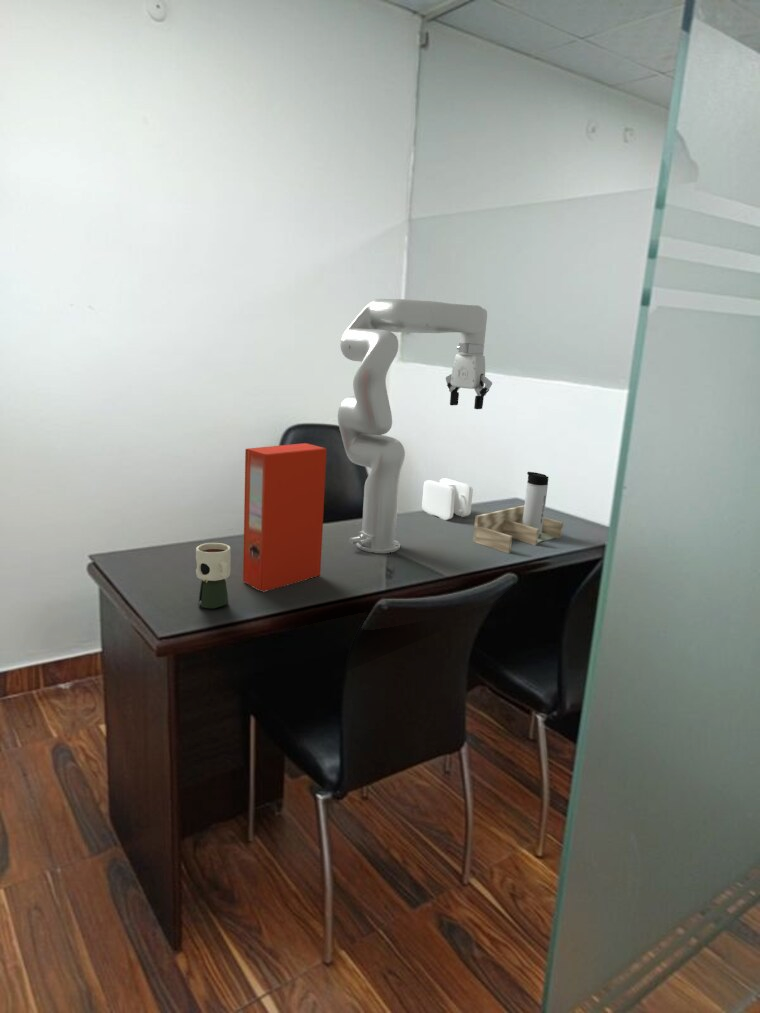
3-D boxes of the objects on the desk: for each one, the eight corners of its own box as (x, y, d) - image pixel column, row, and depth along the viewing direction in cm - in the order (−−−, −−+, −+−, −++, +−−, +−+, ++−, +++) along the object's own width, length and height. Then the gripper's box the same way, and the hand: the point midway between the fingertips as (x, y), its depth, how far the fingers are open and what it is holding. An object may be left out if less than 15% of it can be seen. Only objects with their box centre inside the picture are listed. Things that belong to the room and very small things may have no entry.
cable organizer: (419, 511, 231) (421, 478, 228) (441, 508, 237) (444, 476, 235) (449, 522, 220) (452, 488, 217) (471, 518, 226) (475, 485, 223)
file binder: (321, 576, 164) (326, 448, 156) (263, 593, 152) (266, 454, 144) (300, 567, 169) (304, 442, 161) (243, 582, 157) (244, 448, 149)
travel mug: (517, 531, 212) (524, 470, 207) (537, 532, 213) (545, 470, 208) (523, 537, 206) (531, 474, 201) (544, 538, 207) (552, 475, 202)
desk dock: (508, 553, 191) (511, 526, 189) (472, 541, 200) (475, 515, 198) (561, 537, 210) (564, 513, 208) (526, 527, 219) (529, 503, 217)
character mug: (186, 600, 145) (185, 543, 142) (216, 593, 150) (216, 538, 147) (209, 617, 137) (209, 558, 134) (240, 610, 142) (241, 552, 139)
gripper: (441, 348, 205) (436, 404, 209) (486, 351, 193) (480, 411, 197) (457, 348, 210) (452, 403, 214) (501, 352, 198) (495, 410, 202)
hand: (465, 407), depth 206 cm, fingers open, 9 cm apart
